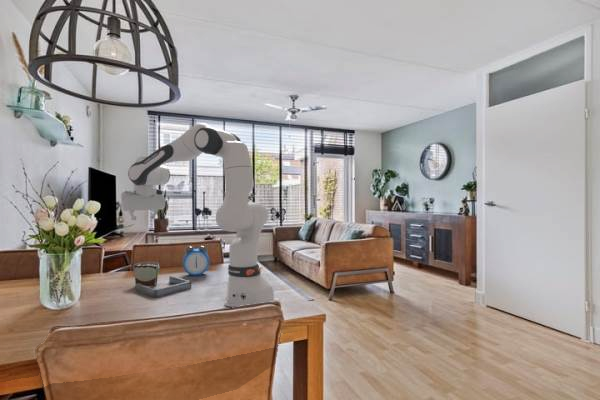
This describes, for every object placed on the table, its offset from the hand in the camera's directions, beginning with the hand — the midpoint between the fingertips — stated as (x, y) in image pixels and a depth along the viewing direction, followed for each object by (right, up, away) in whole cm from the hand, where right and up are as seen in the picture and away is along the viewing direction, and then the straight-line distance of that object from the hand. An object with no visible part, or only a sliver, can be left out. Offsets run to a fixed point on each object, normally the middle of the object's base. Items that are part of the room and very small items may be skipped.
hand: (143, 219), depth 154 cm
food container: (+5, -30, -6) cm, 31 cm away
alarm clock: (+22, -30, +12) cm, 39 cm away
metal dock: (+16, -30, -13) cm, 36 cm away
